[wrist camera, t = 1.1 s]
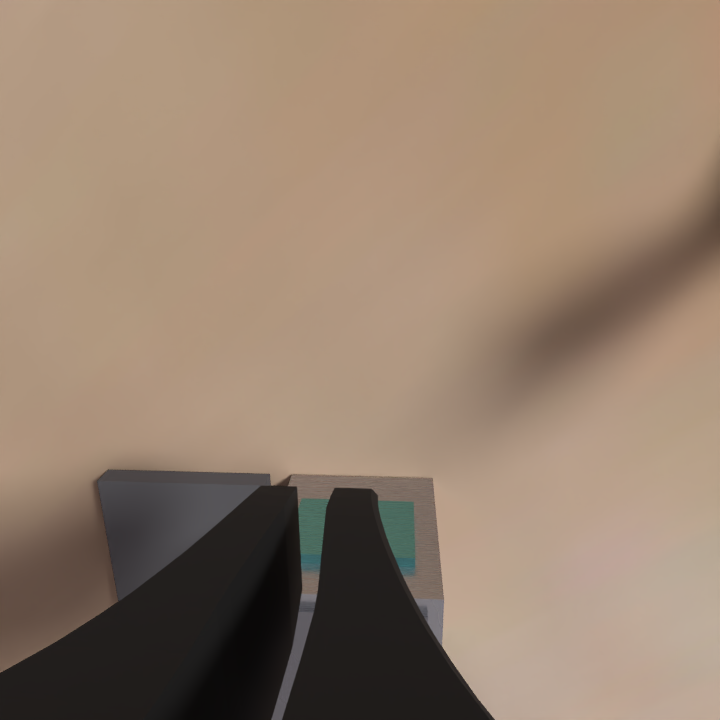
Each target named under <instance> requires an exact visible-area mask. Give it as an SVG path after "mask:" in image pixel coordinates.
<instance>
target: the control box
mask: <svg viewBox="0 0 720 720" xmlns="http://www.w3.org/2000/svg"><path fill="white" fill-rule="evenodd" d="M288 486H297V493H298V512H299V532H300V551H301V570H302V594H301V600H300V606H299V613H298V619H297V624H296V630H295V636H294V641H293V647H292V650H291V654H290V657H289V661H288V665H287V668H286V671H285V675H284V678H283V682H282V685H281V689H280V692H279V696H278V699H277V703H276V706H275V709H274V713H273V716H272V720H282V718H283V715H284V711H285V708H286V705H287V702H288V698H289V695H290V692H291V689H292V685H293V682H294V679H295V676H296V673H297V669H298V666H299V663H300V660H301V656H302V652H303V649H304V645H305V642H306V638H307V635H308V631H309V627H310V624H311V620H312V617H313V613H314V608H315V603H316V597H317V591H318V583H319V573H320V563H321V553H322V543H323V533H324V523H325V514H326V507H327V504H328V502H329V499H330V496H331V494H332V492H333V490H334V488H367V489H372V490H373V491H374V492H375V493H376V494H377V495H378V507H379V512H380V517H381V521H382V524H383V527H384V530H385V534H386V537H387V539H388V542H389V545H390V547H391V550H392V552H393V554H394V557H395V559H396V562H397V564H398V566H399V569H400V571H401V573H402V575H403V577H404V580H405V582H406V584H407V586H408V588H409V590H410V592H411V594H412V596H413V597H414V599H415V601H416V603H417V605H418V607H419V609H420V611H421V613H422V614H423V616H424V618H425V620H426V621H427V623H428V625H429V626H430V628H431V630H432V631H433V633H434V635H435V636H436V638H437V640H438V641H439V643H440V644H441V646H442V632H443V609H444V595H443V585H442V574H441V563H440V552H439V542H438V531H437V520H436V509H435V499H434V488H433V478H398V477H361V476H324V475H292V476H291V479H290V481H289V484H288Z"/></svg>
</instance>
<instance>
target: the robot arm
mask: <svg viewBox="0 0 720 720" xmlns="http://www.w3.org/2000/svg"><path fill="white" fill-rule="evenodd" d="M301 594H302V570H301V551H300V532H299V512H298V493H297V486H262V485H261V486H260V487H259V488H258V489H256V490H255V491H254V492H253V493H252V494H251V495H249V496H248V497H247V498H246V499H245V500H244V501H243V502H242V503H240V504H239V505H238V506H237V507H236V508H235V509H234V510H233V511H231V512H230V513H229V514H228V515H227V516H226V517H225V518H223V519H222V520H221V521H220V522H219V523H218V524H217V525H215V526H214V527H213V528H212V529H211V530H210V531H208V532H207V533H206V534H205V535H204V536H203V537H201V538H200V539H199V540H198V541H197V542H196V543H194V544H193V545H192V546H191V547H190V548H189V549H187V550H186V551H185V552H184V553H182V554H181V555H180V556H178V557H177V558H176V559H174V560H173V561H172V562H171V563H169V564H168V565H167V566H165V567H164V568H163V569H161V570H160V571H159V572H158V573H156V574H155V575H154V576H152V577H151V578H150V579H148V580H147V581H146V582H145V583H143V584H142V585H141V586H139V587H138V588H137V589H135V590H134V591H133V592H131V593H130V594H128V595H127V596H126V597H124V598H123V599H121V600H120V601H119V602H117V603H116V604H114V605H113V606H111V607H110V608H108V609H107V610H105V611H104V612H102V613H101V614H99V615H98V616H96V617H95V618H93V619H91V620H90V621H88V622H87V623H85V624H84V625H82V626H81V627H79V628H77V629H76V630H74V631H73V632H71V633H70V634H68V635H66V636H65V637H63V638H61V639H60V640H58V641H57V642H55V643H53V644H52V645H50V646H48V647H46V648H44V649H43V650H41V651H39V652H37V653H36V654H34V655H32V656H30V657H28V658H27V659H25V660H23V661H21V662H19V663H18V664H16V665H14V666H12V667H10V668H9V669H7V670H5V671H3V672H1V673H0V720H272V716H273V713H274V709H275V706H276V703H277V699H278V696H279V692H280V689H281V685H282V682H283V678H284V675H285V671H286V668H287V665H288V661H289V657H290V654H291V650H292V647H293V641H294V636H295V630H296V624H297V619H298V613H299V606H300V600H301ZM282 720H495V719H494V718H493V717H492V716H491V715H490V713H489V712H488V711H487V710H486V708H485V707H484V706H483V705H482V703H481V702H480V701H479V700H478V698H477V697H476V696H475V694H474V693H473V691H472V690H471V689H470V687H469V686H468V684H467V683H466V681H465V680H464V679H463V677H462V676H461V674H460V673H459V672H458V670H457V669H456V667H455V666H454V664H453V663H452V661H451V660H450V658H449V657H448V655H447V654H446V652H445V651H444V649H443V647H442V646H441V644H440V643H439V641H438V640H437V638H436V636H435V635H434V633H433V631H432V630H431V628H430V626H429V625H428V623H427V621H426V620H425V618H424V616H423V614H422V613H421V611H420V609H419V607H418V605H417V603H416V601H415V599H414V597H413V596H412V594H411V592H410V590H409V588H408V586H407V584H406V582H405V580H404V577H403V575H402V573H401V571H400V569H399V566H398V564H397V562H396V559H395V557H394V554H393V552H392V550H391V547H390V545H389V542H388V539H387V537H386V534H385V530H384V527H383V524H382V521H381V517H380V512H379V507H378V495H377V494H376V493H375V492H374V491H373V490H372V489H367V488H334V490H333V492H332V494H331V496H330V499H329V502H328V504H327V507H326V514H325V523H324V533H323V543H322V553H321V563H320V573H319V583H318V591H317V597H316V603H315V608H314V613H313V617H312V620H311V624H310V627H309V631H308V635H307V638H306V642H305V645H304V649H303V652H302V656H301V660H300V663H299V666H298V669H297V673H296V676H295V679H294V682H293V685H292V689H291V692H290V695H289V698H288V702H287V705H286V708H285V711H284V715H283V718H282Z"/></svg>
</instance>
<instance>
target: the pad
mask: <svg viewBox="0 0 720 720" xmlns="http://www.w3.org/2000/svg"><path fill="white" fill-rule="evenodd" d="M97 483H98V488H99V494H100V500H101V505H102V511H103V517H104V522H105V528H106V534H107V539H108V545H109V551H110V556H111V562H112V568H113V573H114V579H115V585H116V590H117V596H118V602H119V601H120V600H121V599H123V598H124V597H126V596H127V595H128V594H130V593H131V592H133V591H134V590H135V589H137V588H138V587H139V586H141V585H142V584H143V583H145V582H146V581H147V580H148V579H150V578H151V577H152V576H154V575H155V574H156V573H158V572H159V571H160V570H161V569H163V568H164V567H165V566H167V565H168V564H169V563H171V562H172V561H173V560H174V559H176V558H177V557H178V556H180V555H181V554H182V553H184V552H185V551H186V550H187V549H189V548H190V547H191V546H192V545H193V544H194V543H196V542H197V541H198V540H199V539H200V538H201V537H203V536H204V535H205V534H206V533H207V532H208V531H210V530H211V529H212V528H213V527H214V526H215V525H217V524H218V523H219V522H220V521H221V520H222V519H223V518H225V517H226V516H227V515H228V514H229V513H230V512H231V511H233V510H234V509H235V508H236V507H237V506H238V505H239V504H240V503H242V502H243V501H244V500H245V499H246V498H247V497H248V496H249V495H251V494H252V493H253V492H254V491H255V490H256V489H258V488H259V487H260V486H261V485H262V486H271V483H270V474H250V473H213V472H176V471H139V470H107V471H106V472H105V473H104V475H103V476H102V477H101V478H100V479H99V480H98V481H97Z"/></svg>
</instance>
